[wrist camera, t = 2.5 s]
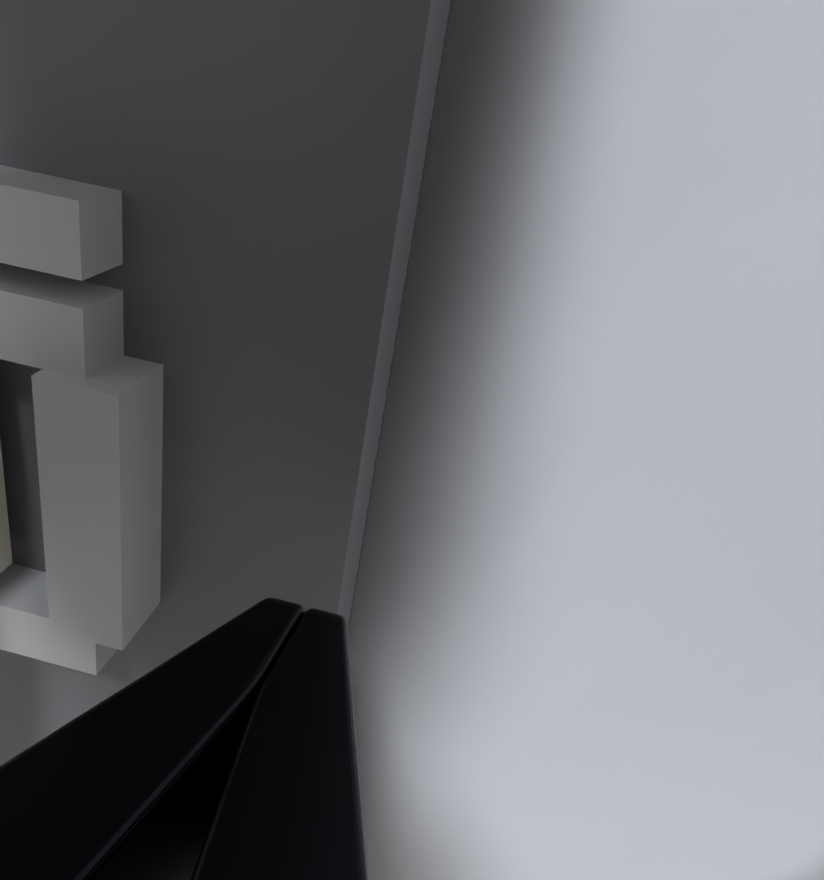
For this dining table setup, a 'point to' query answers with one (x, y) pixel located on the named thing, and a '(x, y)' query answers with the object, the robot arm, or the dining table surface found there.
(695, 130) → the dining table surface
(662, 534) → the dining table surface
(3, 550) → the fader cap
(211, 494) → the console board
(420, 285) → the dining table surface
